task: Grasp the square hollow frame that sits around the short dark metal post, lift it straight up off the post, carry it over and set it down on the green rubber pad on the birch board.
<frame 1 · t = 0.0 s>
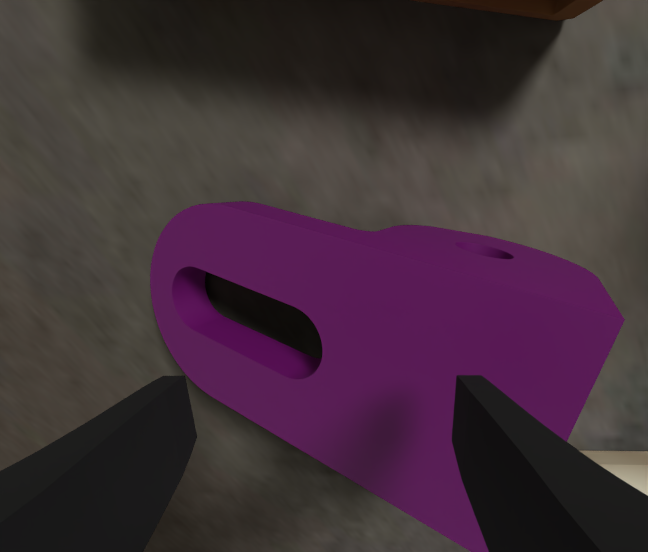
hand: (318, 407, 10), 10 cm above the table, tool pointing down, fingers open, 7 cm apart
mounting bracket: (335, 296, 20), on the table
board: (639, 549, 24), on the table
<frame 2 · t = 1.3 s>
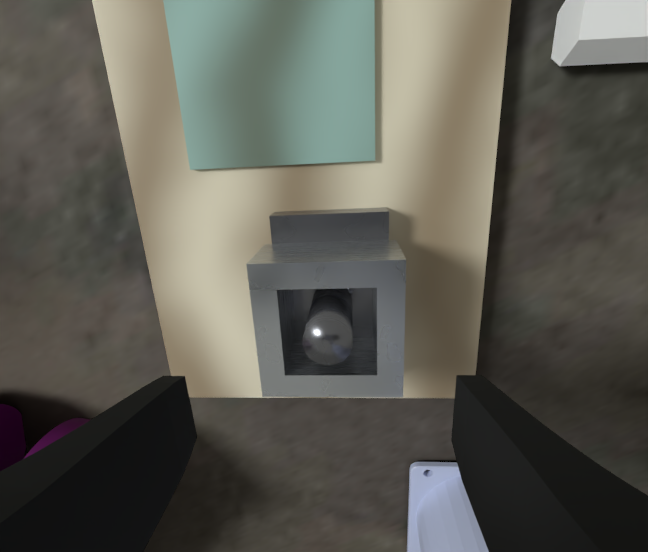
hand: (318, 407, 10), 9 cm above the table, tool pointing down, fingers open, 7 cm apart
peg base: (334, 285, 19), resting on board
mounting bracket: (70, 493, 25), on the table
square hollow frame: (332, 302, 16), point 2 cm above the table, touching peg base
board: (310, 207, 17), on the table
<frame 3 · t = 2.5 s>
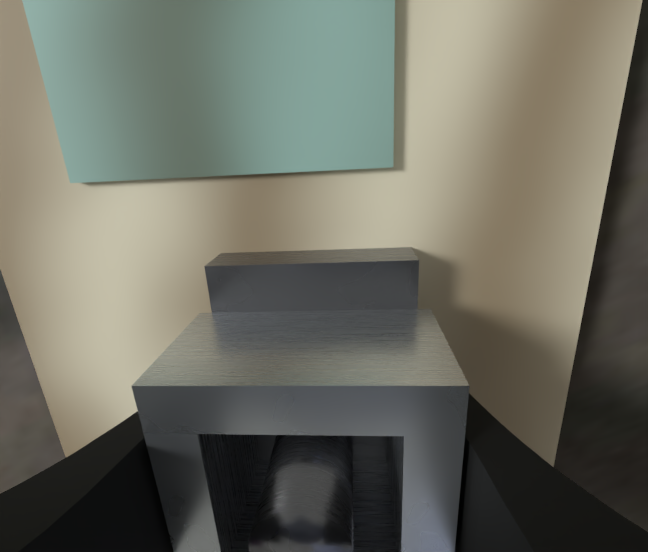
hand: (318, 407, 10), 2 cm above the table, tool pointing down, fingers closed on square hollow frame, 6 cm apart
peg base: (324, 362, 12), resting on board
square hollow frame: (318, 407, 10), point 2 cm above the table, touching gripper, peg base
board: (283, 242, 11), on the table
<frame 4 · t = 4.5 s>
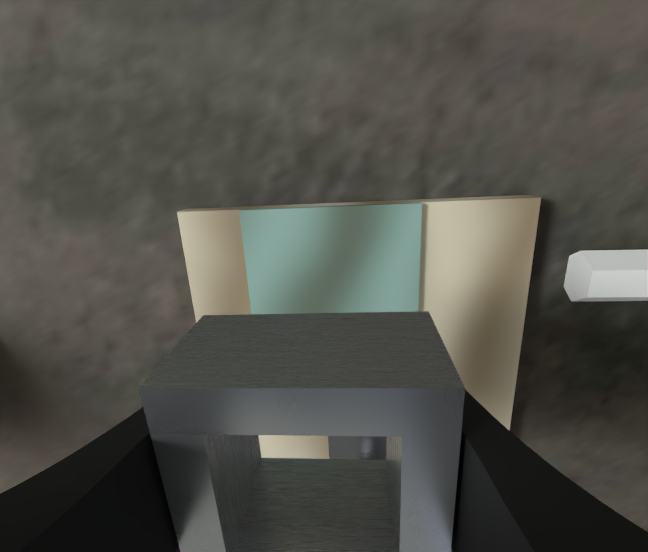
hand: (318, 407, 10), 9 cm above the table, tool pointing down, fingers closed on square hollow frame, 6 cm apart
peg base: (374, 443, 21), resting on board
square hollow frame: (319, 407, 10), point 9 cm above the table, touching gripper
board: (356, 385, 20), on the table
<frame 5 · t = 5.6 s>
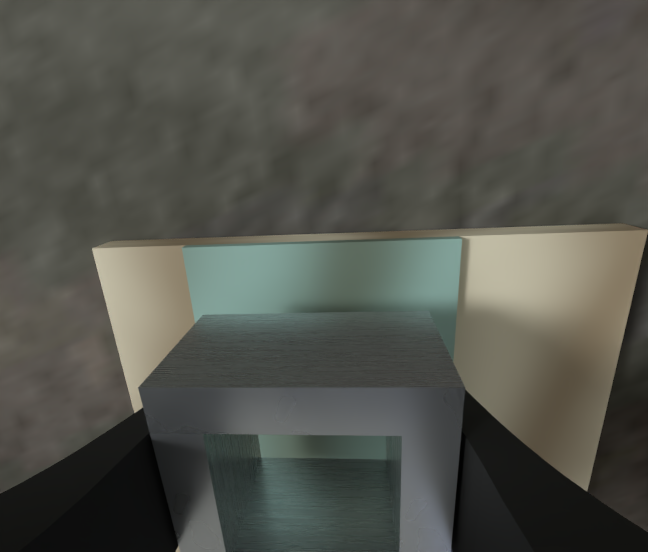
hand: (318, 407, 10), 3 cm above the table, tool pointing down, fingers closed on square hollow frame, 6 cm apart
square hollow frame: (319, 406, 10), point 3 cm above the table, touching gripper
board: (358, 477, 15), on the table
when the fingers open (2 cm above the table, at t = 6.4 s): square hollow frame stays where it is, resting on board.
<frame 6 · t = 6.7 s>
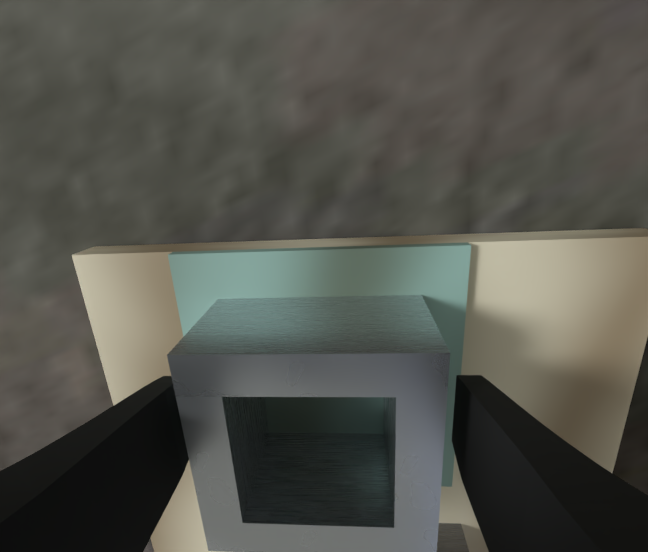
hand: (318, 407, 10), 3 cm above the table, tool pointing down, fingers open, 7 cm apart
square hollow frame: (322, 384, 11), point 1 cm above the table, touching board
board: (359, 495, 14), on the table
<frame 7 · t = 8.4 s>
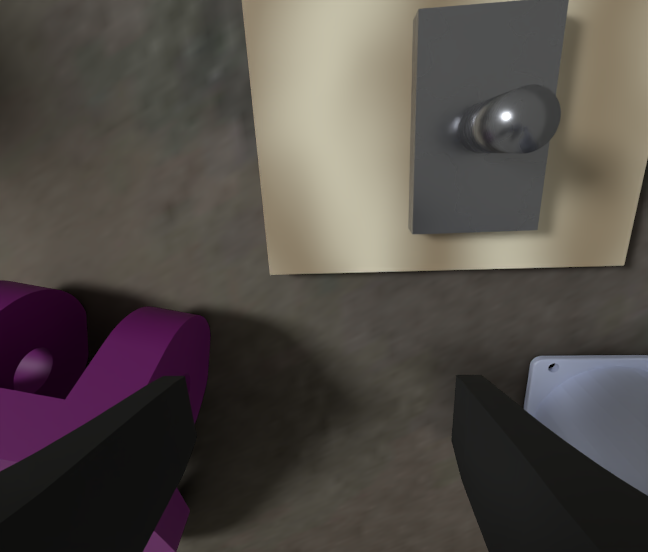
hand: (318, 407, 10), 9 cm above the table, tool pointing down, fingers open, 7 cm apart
peg base: (465, 131, 16), resting on board
mounting bracket: (133, 413, 23), on the table
board: (446, 25, 15), on the table
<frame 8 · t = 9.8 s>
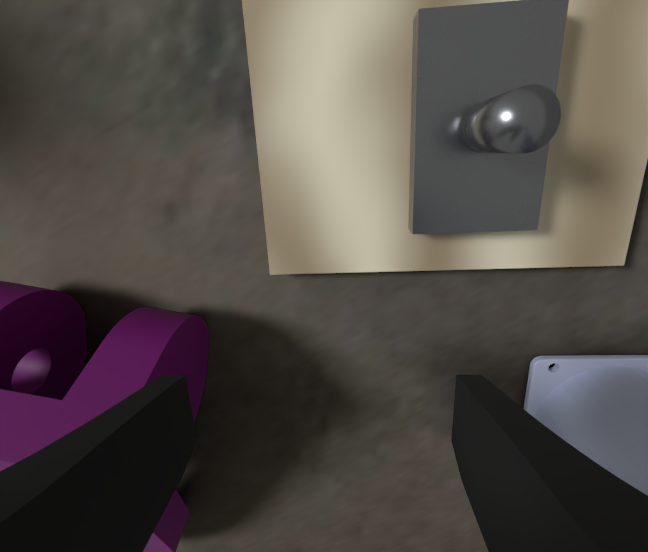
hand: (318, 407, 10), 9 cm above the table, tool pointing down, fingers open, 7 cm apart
peg base: (465, 131, 16), resting on board
mounting bracket: (131, 414, 23), on the table
board: (447, 25, 15), on the table
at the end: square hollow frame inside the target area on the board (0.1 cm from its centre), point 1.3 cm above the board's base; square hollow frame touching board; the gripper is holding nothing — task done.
